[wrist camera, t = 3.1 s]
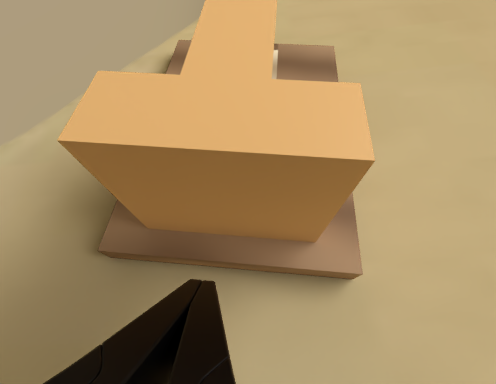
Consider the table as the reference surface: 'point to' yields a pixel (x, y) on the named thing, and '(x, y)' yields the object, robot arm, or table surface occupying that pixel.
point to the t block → (225, 136)
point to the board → (239, 247)
